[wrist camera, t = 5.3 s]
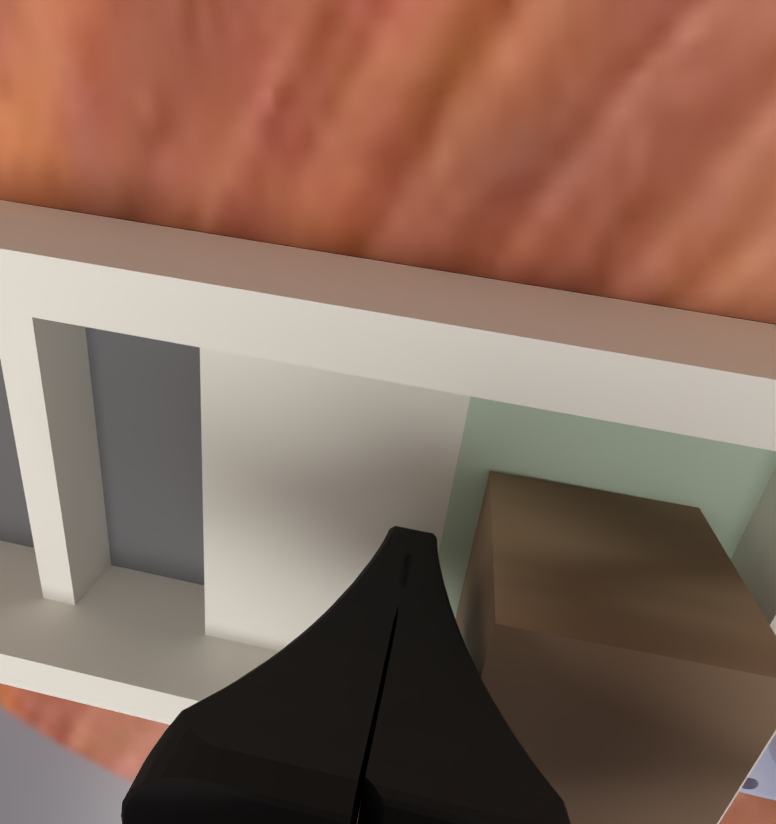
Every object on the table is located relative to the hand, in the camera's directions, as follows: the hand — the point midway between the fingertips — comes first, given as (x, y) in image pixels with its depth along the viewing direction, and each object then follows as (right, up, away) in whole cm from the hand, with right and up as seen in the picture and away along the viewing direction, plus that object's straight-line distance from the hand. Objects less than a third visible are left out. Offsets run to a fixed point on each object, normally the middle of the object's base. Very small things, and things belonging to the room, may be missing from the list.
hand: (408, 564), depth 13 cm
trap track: (-3, +2, +3) cm, 4 cm away
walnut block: (+4, 0, 0) cm, 4 cm away
